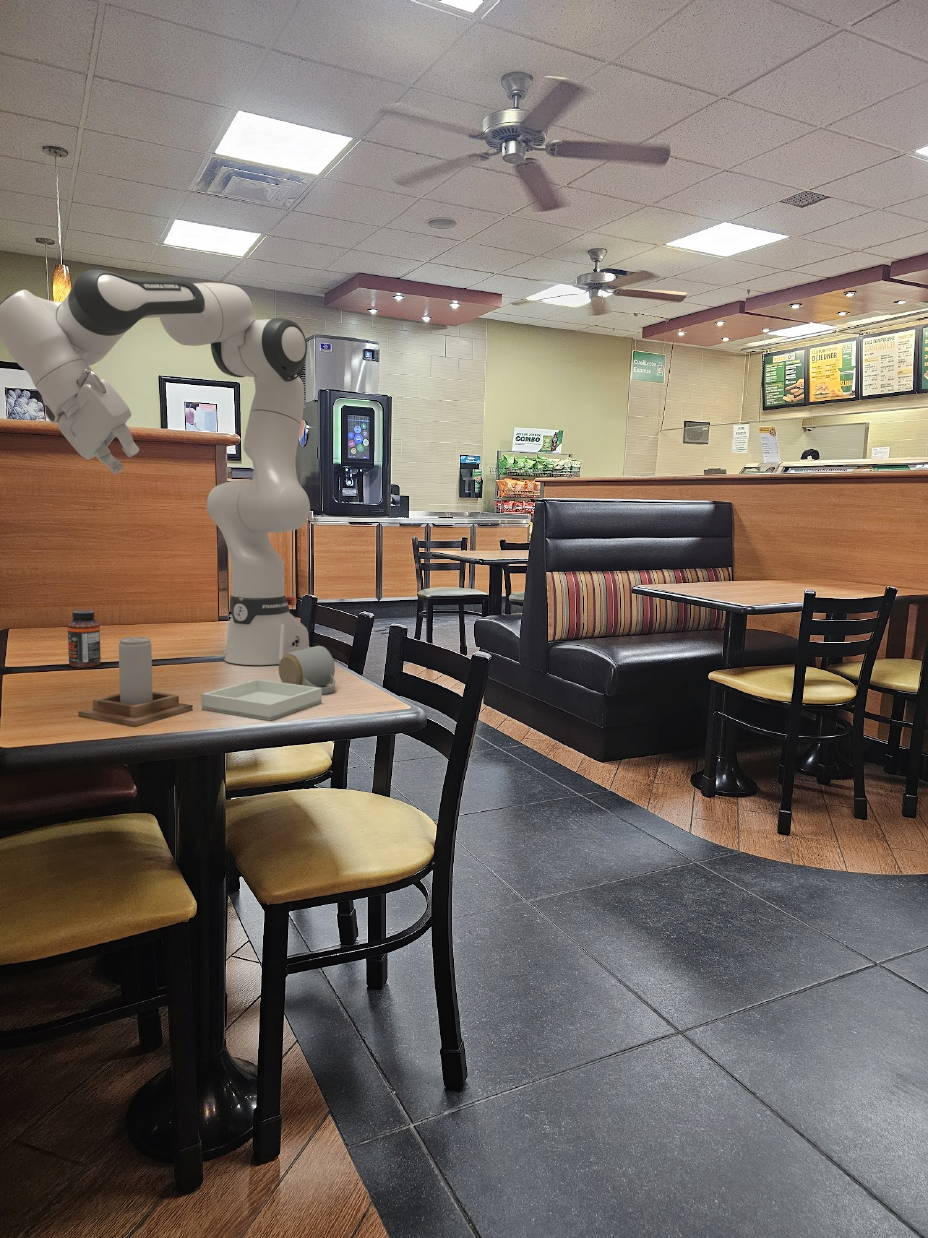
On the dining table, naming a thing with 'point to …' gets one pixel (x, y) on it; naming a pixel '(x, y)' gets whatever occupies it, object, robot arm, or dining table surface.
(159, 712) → the walnut collar
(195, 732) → the dining table surface
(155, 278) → the robot arm
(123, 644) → the beverage can
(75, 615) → the supplement bottle
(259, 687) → the tray
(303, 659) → the ceramic mug
